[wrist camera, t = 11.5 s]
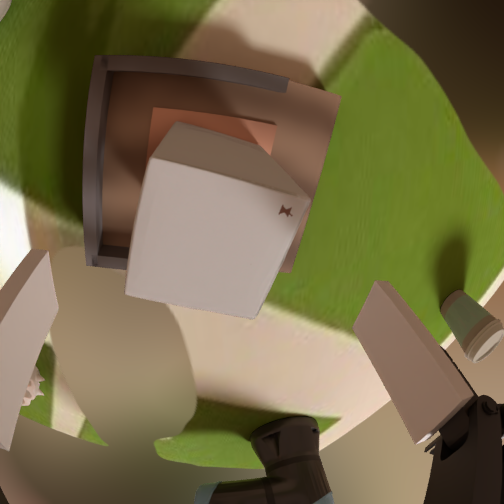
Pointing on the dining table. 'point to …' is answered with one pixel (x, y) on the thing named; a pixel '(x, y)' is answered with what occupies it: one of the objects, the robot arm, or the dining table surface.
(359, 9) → the dining table surface
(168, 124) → the dock
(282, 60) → the dining table surface
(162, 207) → the supplement box
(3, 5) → the lidded jar
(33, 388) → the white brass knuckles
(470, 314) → the coffee cup
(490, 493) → the robot arm
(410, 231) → the dining table surface
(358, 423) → the dining table surface
